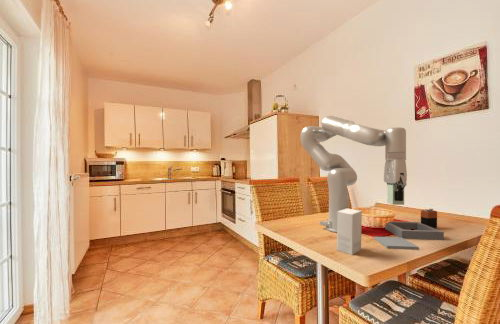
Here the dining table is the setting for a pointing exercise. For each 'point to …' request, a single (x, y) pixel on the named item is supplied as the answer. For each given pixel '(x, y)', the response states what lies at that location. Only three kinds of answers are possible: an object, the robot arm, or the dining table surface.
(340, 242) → the skincare box
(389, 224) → the grey square frame
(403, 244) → the mat
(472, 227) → the dining table surface
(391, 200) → the green box
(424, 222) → the battery
